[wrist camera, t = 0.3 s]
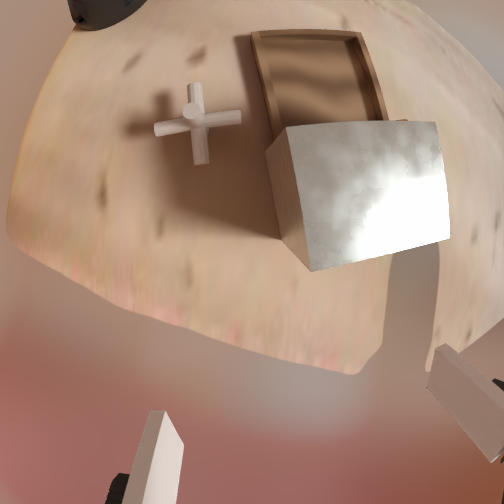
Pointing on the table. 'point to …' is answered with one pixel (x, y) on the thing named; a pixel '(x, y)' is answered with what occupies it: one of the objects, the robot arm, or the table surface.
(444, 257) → the table surface
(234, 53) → the table surface
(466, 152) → the table surface
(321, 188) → the box
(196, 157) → the pipe connector
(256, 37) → the tray
